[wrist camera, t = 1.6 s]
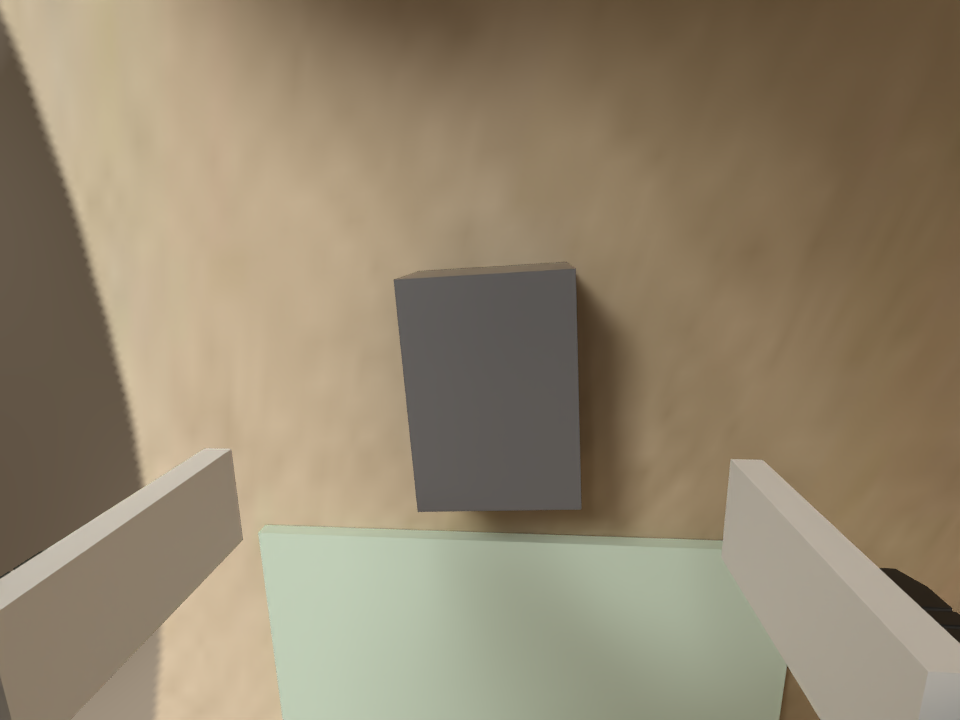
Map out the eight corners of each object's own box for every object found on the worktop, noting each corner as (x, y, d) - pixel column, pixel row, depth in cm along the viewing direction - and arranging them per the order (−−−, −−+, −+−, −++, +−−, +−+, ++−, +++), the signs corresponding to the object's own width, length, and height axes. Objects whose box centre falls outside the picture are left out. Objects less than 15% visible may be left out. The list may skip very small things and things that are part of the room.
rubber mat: (265, 524, 29) (258, 532, 28) (795, 542, 26) (803, 552, 26) (300, 803, 34) (295, 816, 33) (753, 841, 31) (759, 857, 30)
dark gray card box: (419, 270, 25) (393, 279, 20) (566, 261, 24) (575, 268, 20) (437, 462, 27) (417, 511, 23) (571, 459, 27) (581, 509, 22)
